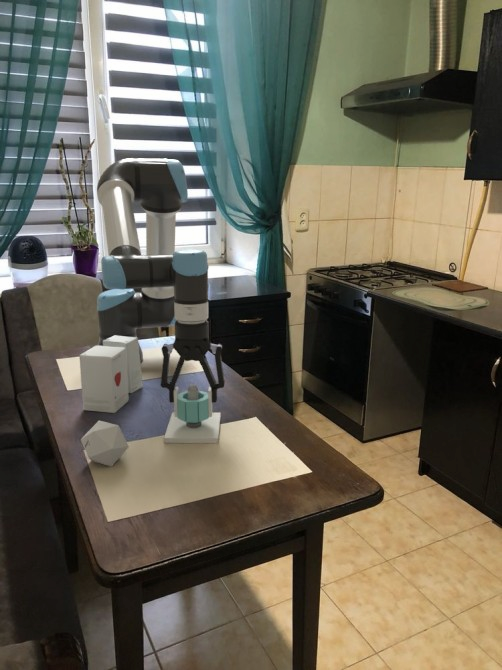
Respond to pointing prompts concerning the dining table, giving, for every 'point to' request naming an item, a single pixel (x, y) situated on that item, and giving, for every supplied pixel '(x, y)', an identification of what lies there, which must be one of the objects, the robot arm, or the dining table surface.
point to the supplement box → (104, 378)
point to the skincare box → (129, 359)
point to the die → (104, 443)
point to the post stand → (193, 426)
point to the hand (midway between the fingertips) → (193, 414)
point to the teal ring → (192, 407)
